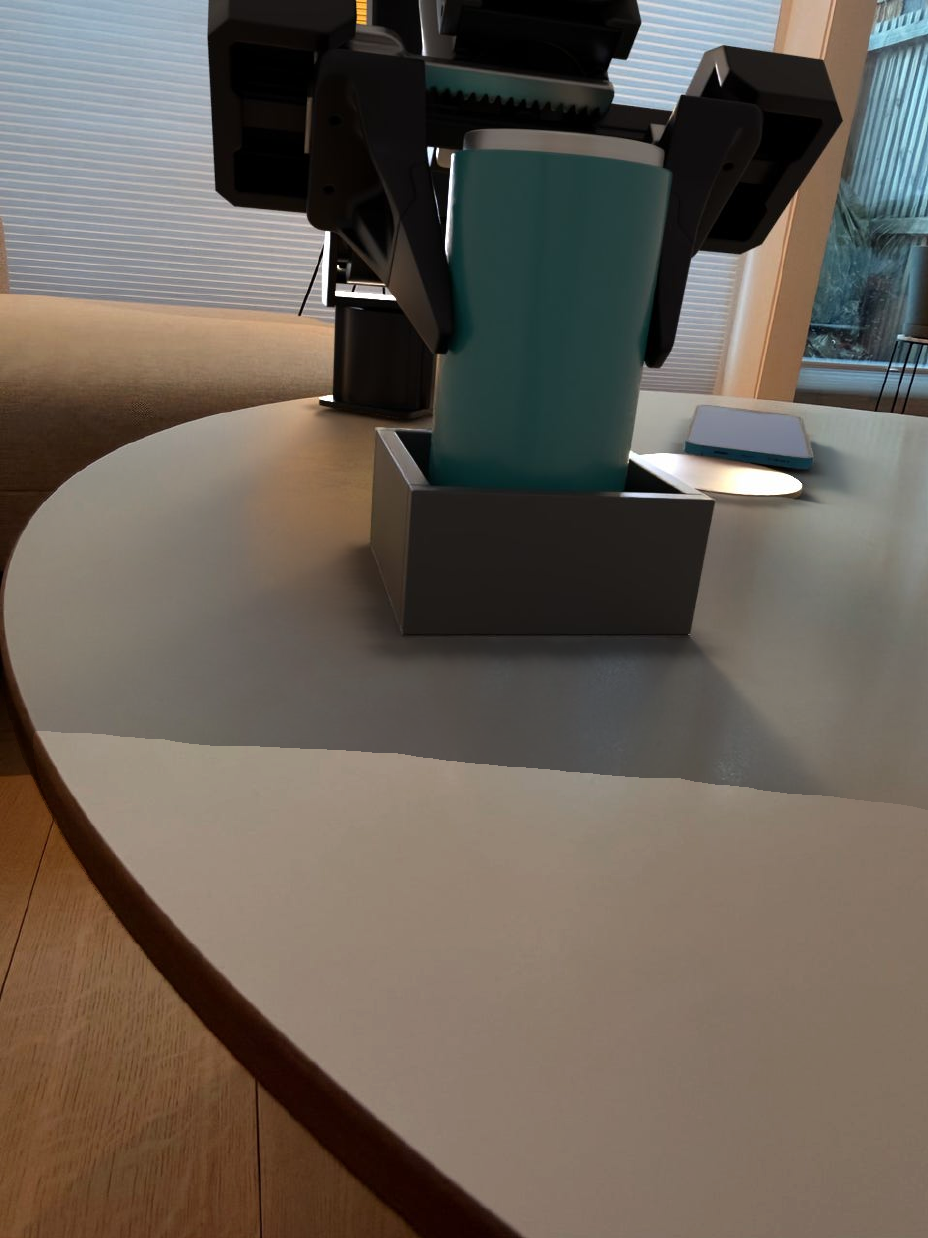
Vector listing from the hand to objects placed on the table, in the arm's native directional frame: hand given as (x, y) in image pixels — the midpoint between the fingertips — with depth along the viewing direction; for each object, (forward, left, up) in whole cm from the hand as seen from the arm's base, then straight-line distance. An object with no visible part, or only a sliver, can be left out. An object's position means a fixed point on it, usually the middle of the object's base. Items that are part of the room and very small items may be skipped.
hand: (553, 351), depth 26 cm
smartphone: (+2, +37, -8) cm, 38 cm away
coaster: (+2, +24, -8) cm, 25 cm away
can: (-1, +1, -6) cm, 6 cm away
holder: (-1, +1, -8) cm, 8 cm away
